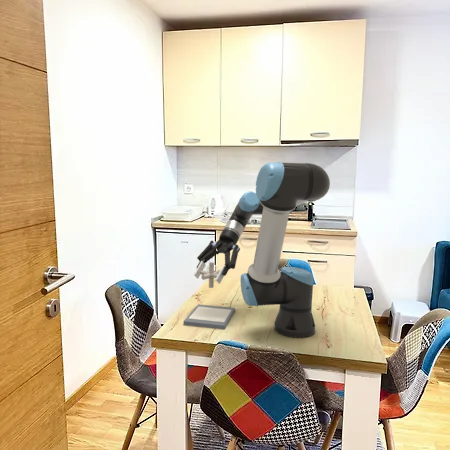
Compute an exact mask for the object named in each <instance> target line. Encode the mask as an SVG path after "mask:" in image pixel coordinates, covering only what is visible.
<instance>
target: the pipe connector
mask: <svg viewBox="0 0 450 450" xmlns="http://www.w3.org/2000/svg"><path fill="white" fill-rule="evenodd" d="M208 262H209V267H208V271H207V270H204V269H203V270H201V271H200V276H201V279H202V280H204V281H205V280H207V279H208V288H210V289H213V288H214V286H215V285H214V281H215V279H216V277H217V275H218V274H219V272H220V270H221V269H220V270H219V269H218V270H215V262H214V261H208ZM214 270H215V271H214Z"/></svg>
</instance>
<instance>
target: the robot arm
mask: <svg viewBox="0 0 450 450" xmlns="http://www.w3.org/2000/svg"><path fill="white" fill-rule="evenodd" d="M255 187H256V188H255V192H254V191H246V192H244V193H243V194H242V195H241V196H240V198H239V201H238V202H237V204H236V206H235V207H234V209H233V212H232V213H231V215H230V217H229V219H228V220H227V222H226V223H225V226H224V228H223V230H222V231H221V233H220V235H219V239H218V240H217V241H214V240H210V241H209V243H208V245H207V246H206V247H205V248H204V250H202V252H201V253H200V254H199V255H198V256H197V258H196V259H197V260H198V261H199V262H198V264H197V265H196V269H195V271H194V273H193V276H194V277H195V278H196V279H199V278H200V276H201V274H200V271H201V270H203V271H204V269H205V267H206V263H208V262H210V260H211V259H213V258H214V257H215V256H217V255H219V254H224V265H222V266H221V269H220V272H219V274H218V275H217V277H216V278H214V281H216V283H218V284H219V285H220V284H221V282H222V280H223V278H224V277H225V276H226V275H228V272H229V270H230V269H232V270H234V269H236V264H237V260H238V256H239V252H240V251H241V247H240V246H239V244H237V243H238V242H239V239H240V237H241V236H242V234H243V232H244V230H245V228H246V226H247V224H248V223H249V221H250V219H251V218H252V217H253V215H261V220H260V225H259V230H258V236H257V242H256V249H255V252H254V257H253V258H254V259H253V263H252V264H250V265H249V266H248V269H247V273H246V272H244V273H242V274H241V275H240V290H241V291H240V292H241V294H242V299H243V301H244V303H245V304H246V305H247V306H249V307H260V306H271V305H272V306H273V305H274V306H275V305H279V310H278V311H277V314H276V317H275V320H274V324H273V329H274V331H275V332H276V333H278V334H280V335H283V336H285V337H289V338H290V337H291V338H297V339H298V338H299V337H301V338H308V337H312V336H313V335H314V334H315V333H316V323H315V319H314V316H313V313H312V312H313V311H312V308H313V307H312V306H313V292H314V275H313V274H312V272H311V271H309V270H307V269H304V268H300V267H295V266H294V267H293V266H282V267H281V270H280V269H279V268H278V267H279V264H280V260H281V259H280V258H281V255H282V249H283V245H284V241H285V235H286V233H287V232H286V231H287V226H288V221H289V217H290V214H292V211H294V210H295V209H296V207H298V206H301V205H303V204H304V203H307V202H316V201H318V200H320V199H322V198H324V197H325V196H326V195H327V194H328V192H329V190H330V188H331V180H330V177H329V175H328V173H327V171H326V170H325V169H324V168H322V167H321V166H319V165H317V164H315V163H309V162H305V163H304V162H281V161H276V162H267V163H265V164H263V165H262V166H261V167H260V169H259V171H258V174H257V176H256V181H255ZM231 251H232V252H231Z"/></svg>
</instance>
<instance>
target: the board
mask: <svg viewBox="0 0 450 450" xmlns="http://www.w3.org/2000/svg"><path fill="white" fill-rule="evenodd" d="M235 313H236V307H231V306H218V305H208V304H197V305H196V306H195V307H194V308H193V309H192V311H191V312H190V313H189V314H188V315H187V316H186V318H185V319H184V320H183V326H188V327H197V328H198V327H200V328H207V329H215V330H217V329H218V330H226V328H227V327H228V325H229V323H230V321H231V320H232V317H233V316H234V314H235Z"/></svg>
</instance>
